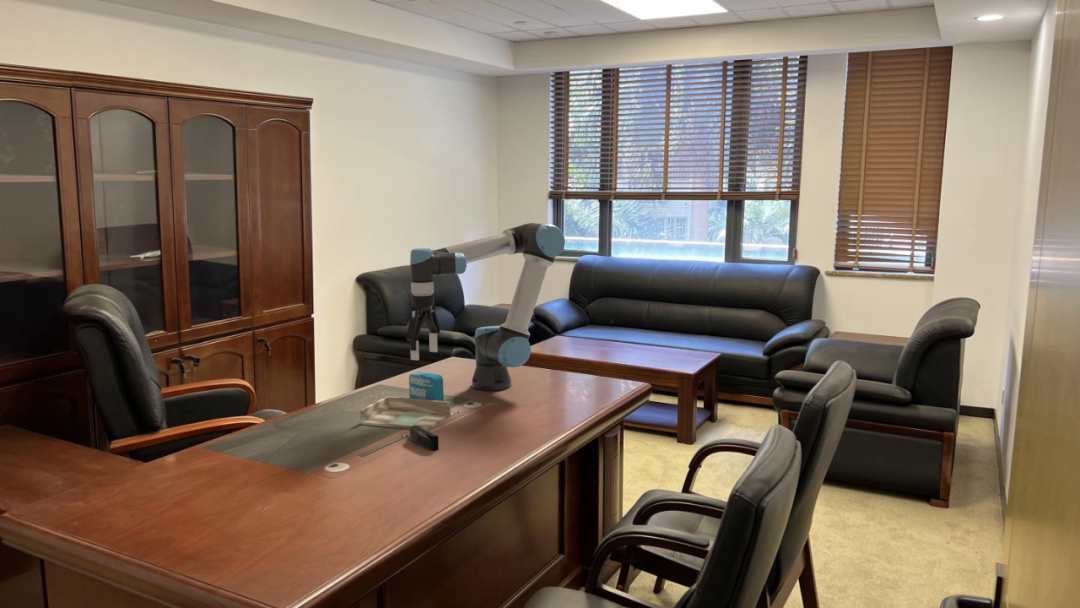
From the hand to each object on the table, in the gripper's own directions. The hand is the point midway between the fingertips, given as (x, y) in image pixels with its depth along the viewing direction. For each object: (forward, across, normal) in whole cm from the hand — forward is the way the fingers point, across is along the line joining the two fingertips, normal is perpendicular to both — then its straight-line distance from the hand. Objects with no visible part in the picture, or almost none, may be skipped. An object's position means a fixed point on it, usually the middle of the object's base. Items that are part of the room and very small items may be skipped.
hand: (424, 355), depth 265 cm
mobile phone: (+19, +34, +17) cm, 43 cm away
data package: (+19, 0, 0) cm, 19 cm away
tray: (+19, +14, 0) cm, 23 cm away
